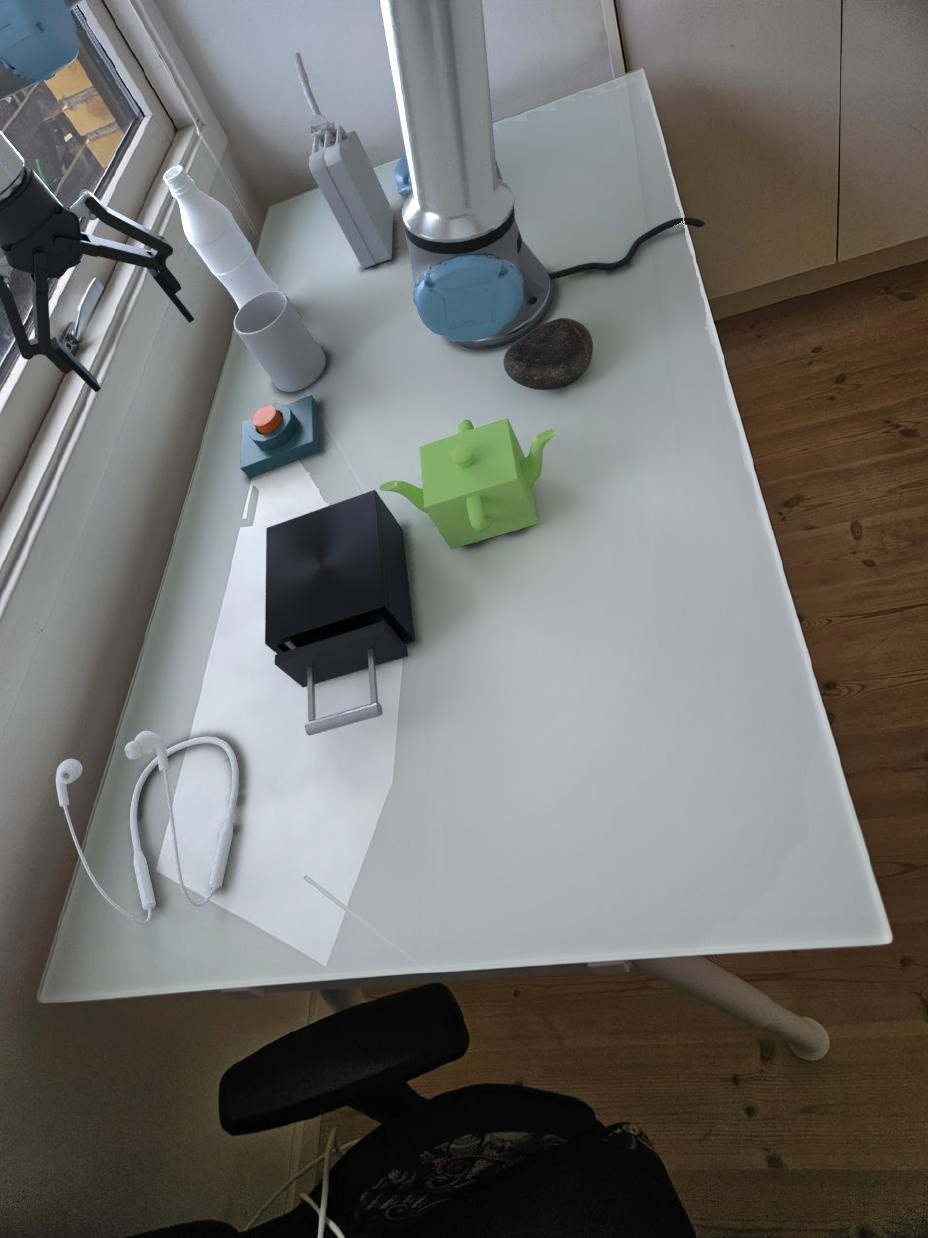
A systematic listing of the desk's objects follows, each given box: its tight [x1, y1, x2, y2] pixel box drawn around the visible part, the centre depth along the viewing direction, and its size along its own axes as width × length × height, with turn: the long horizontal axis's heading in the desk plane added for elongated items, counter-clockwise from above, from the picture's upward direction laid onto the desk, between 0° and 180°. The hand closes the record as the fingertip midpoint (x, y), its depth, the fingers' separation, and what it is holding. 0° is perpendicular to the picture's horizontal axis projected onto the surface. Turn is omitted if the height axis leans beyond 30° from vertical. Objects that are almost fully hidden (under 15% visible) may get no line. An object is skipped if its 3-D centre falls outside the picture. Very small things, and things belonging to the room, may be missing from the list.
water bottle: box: [162, 164, 283, 311], centre depth 118 cm, size 7×7×25 cm
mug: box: [233, 290, 327, 393], centre depth 115 cm, size 12×8×11 cm
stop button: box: [251, 404, 282, 434], centre depth 109 cm, size 4×4×2 cm
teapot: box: [378, 417, 558, 550], centre depth 89 cm, size 15×13×11 cm
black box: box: [264, 489, 416, 655], centre depth 91 cm, size 16×14×8 cm
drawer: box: [274, 613, 409, 736], centre depth 87 cm, size 22×13×6 cm, turn 7°
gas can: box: [292, 52, 394, 269], centre depth 119 cm, size 15×5×25 cm, turn 1°
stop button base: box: [239, 394, 322, 479], centre depth 111 cm, size 11×9×4 cm
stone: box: [503, 317, 594, 391], centre depth 99 cm, size 11×11×5 cm
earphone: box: [55, 730, 240, 925], centre depth 84 cm, size 14×17×18 cm
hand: (142, 351), depth 96 cm, fingers open, 13 cm apart
